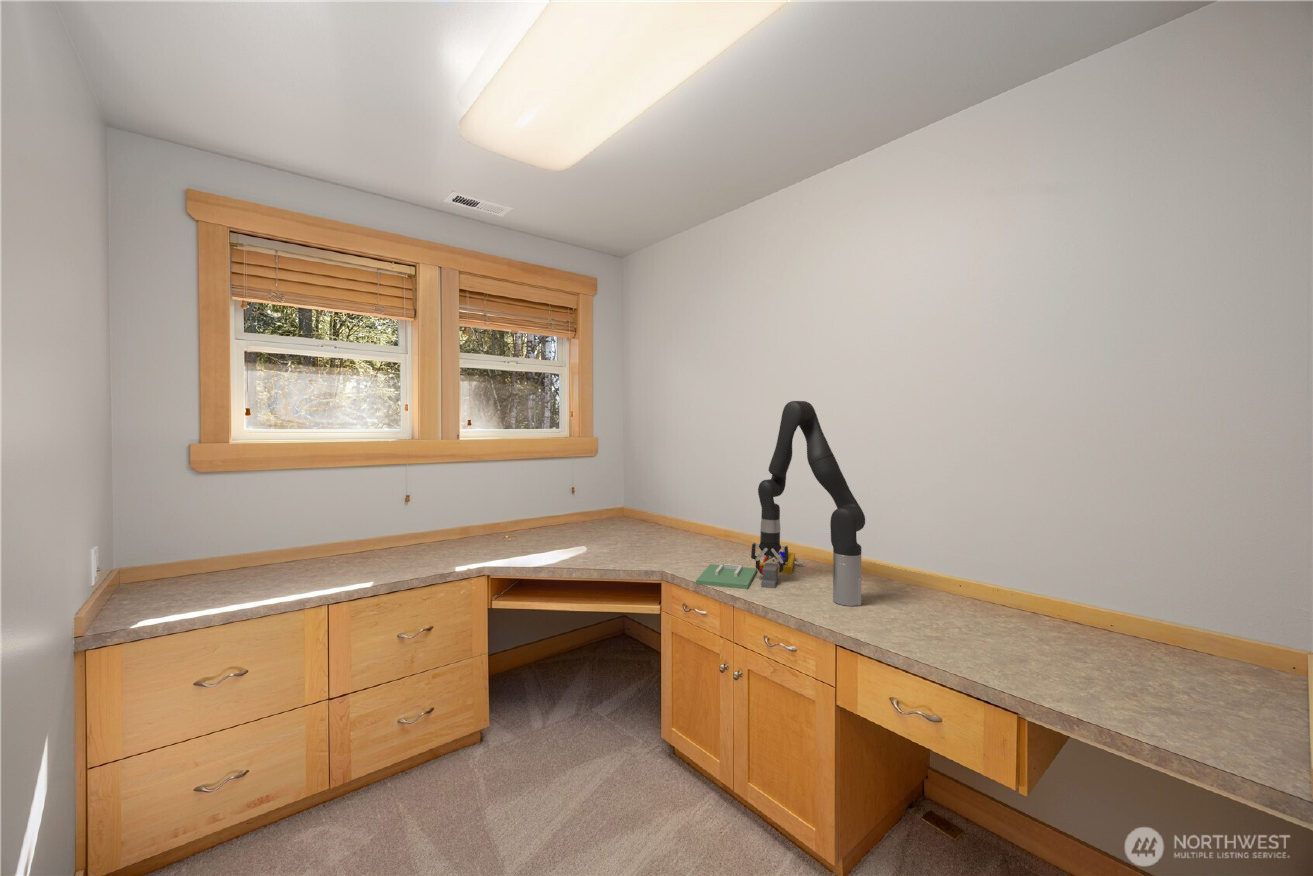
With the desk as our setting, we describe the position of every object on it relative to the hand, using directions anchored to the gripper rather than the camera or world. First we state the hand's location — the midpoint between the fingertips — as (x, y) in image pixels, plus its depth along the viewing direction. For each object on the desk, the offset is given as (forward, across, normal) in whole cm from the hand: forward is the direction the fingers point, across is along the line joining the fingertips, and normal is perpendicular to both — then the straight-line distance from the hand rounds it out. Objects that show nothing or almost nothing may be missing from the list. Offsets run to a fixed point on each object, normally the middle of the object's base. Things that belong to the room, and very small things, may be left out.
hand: (769, 571), depth 208 cm
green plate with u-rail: (+4, -16, 0) cm, 17 cm away
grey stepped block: (+4, 0, -2) cm, 5 cm away
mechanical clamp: (+5, +2, +24) cm, 25 cm away
